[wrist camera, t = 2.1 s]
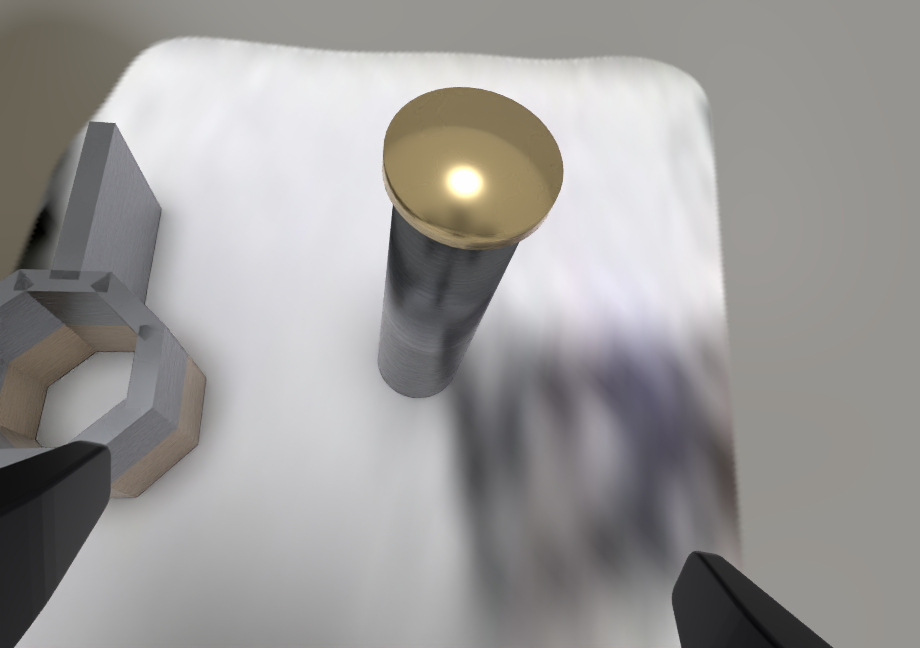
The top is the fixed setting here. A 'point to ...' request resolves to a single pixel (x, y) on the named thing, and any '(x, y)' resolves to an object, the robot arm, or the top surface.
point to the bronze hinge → (100, 325)
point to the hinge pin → (455, 223)
